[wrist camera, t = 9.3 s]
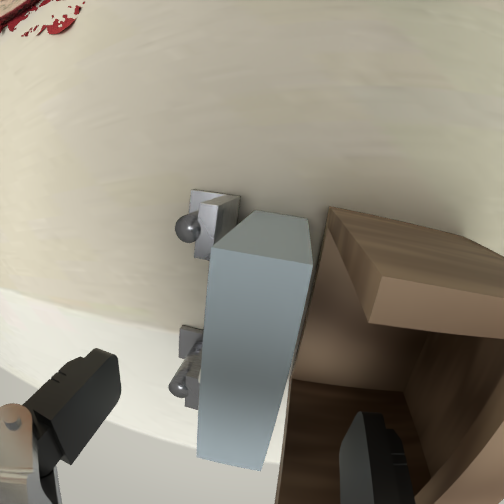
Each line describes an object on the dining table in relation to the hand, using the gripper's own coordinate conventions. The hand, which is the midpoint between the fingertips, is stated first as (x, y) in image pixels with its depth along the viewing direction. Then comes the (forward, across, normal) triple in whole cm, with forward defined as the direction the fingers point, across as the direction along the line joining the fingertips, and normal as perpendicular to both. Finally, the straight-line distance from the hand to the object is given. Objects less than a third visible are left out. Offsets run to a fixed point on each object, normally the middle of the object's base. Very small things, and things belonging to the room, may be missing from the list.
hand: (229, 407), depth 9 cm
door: (+10, 0, +1) cm, 10 cm away
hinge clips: (+10, +3, +1) cm, 11 cm away
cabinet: (+10, -7, +1) cm, 13 cm away
